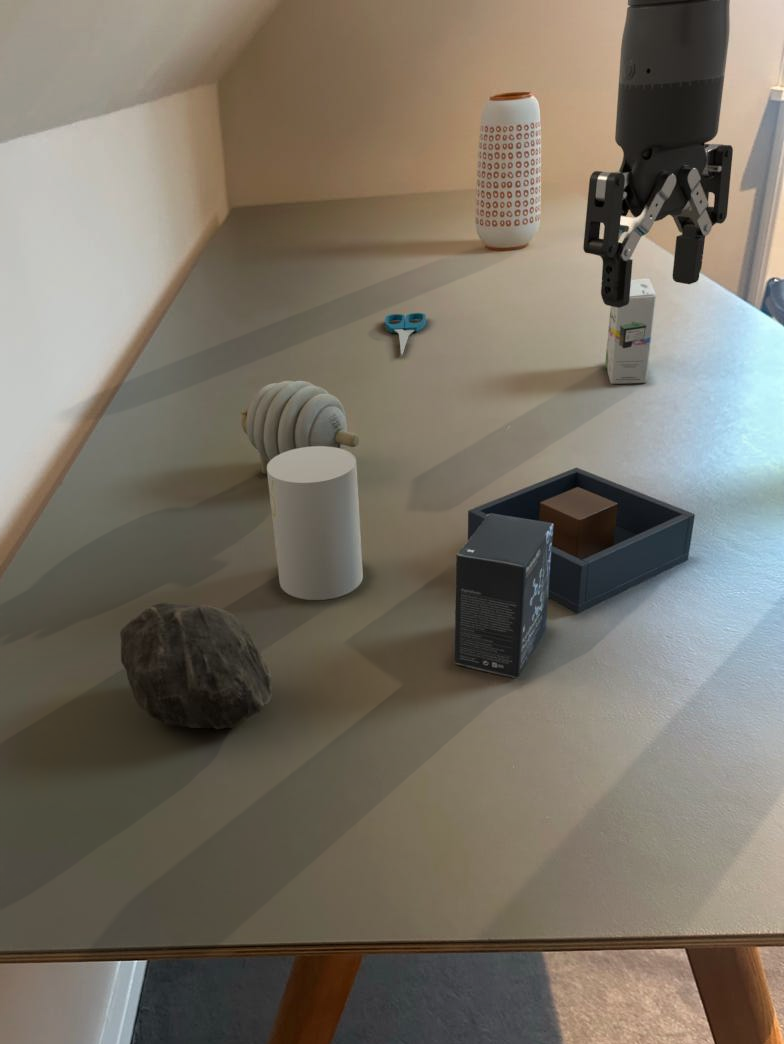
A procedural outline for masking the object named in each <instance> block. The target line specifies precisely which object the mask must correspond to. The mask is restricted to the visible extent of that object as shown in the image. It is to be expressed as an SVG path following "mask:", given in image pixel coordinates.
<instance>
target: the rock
mask: <svg viewBox="0 0 784 1044" xmlns="http://www.w3.org/2000/svg"><path fill="white" fill-rule="evenodd" d="M119 635H120V663H121V664H122V665H123V667H124V669H125V671H126V677H127V680H128V683H129V686H130V688H131V691H132V694H133V697H134V699H135V701H136V703H137V705H138V706H139V708H141V709H142V710H143V712H144V713H145V714H146V715H147V716H148V717H150V718H154V719H156V720H158V721H161V722H163V723H164V724H167V725H176V726H182V727H185V728H192V729H205V728H214V729H215V730H219V729H220V730H221V729H225V728H231V729H232V728H236V727H237V726H240V724H243V723H244V722H246V721H247V720H248V719H249V718H250V717H252V716H254V715H256V714H258V713H260V712H261V711H262V710H263V709H264V707H266V706H268V705H269V702H270V701H271V700H272V696H273V691H272V673H271V668H270V666H269V665H267V664H266V662H264V659H263V657H262V654H261V652H260V650H259V647H258V646H257V644H256V642H255V640H253V638H252V636H251V634H249V632H248V631H247V629H246V628H245V626H244V625H243V624H242V622H241V621H240V620H239V619H238V618H237V617H236V615H234V614H233V613H230V612H229V611H227V610H226V609H223V608H220V607H216V606H212V605H206V604H205V605H204V604H199V603H198V604H197V603H189V604H181V603H179V604H178V603H168V602H161V603H156V604H153V605H151V606H149V607H147V608H145V609H144V610H143V611H142V612H141V613H140V614H138V615H137V616H136V617H135V618H132V620H130V621H129V622H128V623H127V624H126V625H125V626H124V627H122V628H121V629H120V632H119Z"/></svg>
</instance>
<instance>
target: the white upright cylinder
mask: <svg viewBox="0 0 784 1044" xmlns="http://www.w3.org/2000/svg"><path fill="white" fill-rule="evenodd" d="M357 468H358V467H357V458H356V456H355V455H354V454H353V453H351V452H350V451H349V450H347V449H343V448H342V449H340V448H335V447H327V446H312V447H303V448H297V449H293V450H290V451H286V452H284V453H281V454H279V455H277V456H276V457H274V458H273V459H271V460H270V462H269V463H268V465H267V474H266V475H267V483H268V492H269V500H270V501H269V502H270V509H271V518H272V519H271V520H272V526H273V535H274V544H275V553H276V554H275V555H276V562H277V563H276V564H277V570H278V571H277V573H278V580H279V587H280V588H281V590H282V591H283V592H284V593H286V594H288V595H289V596H292V597H293V598H296V599H300V600H307V601H325V600H330V599H336V598H340V597H342V596H345V595H348V594H350V593H352V592H353V591H355V590H356V589H357V588H358V587H359V586H360V585H361V584H362V582H363V578H364V573H363V557H362V556H363V555H362V541H361V540H362V539H361V537H362V536H361V521H360V505H359V504H360V503H359V486H358V469H357Z"/></svg>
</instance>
